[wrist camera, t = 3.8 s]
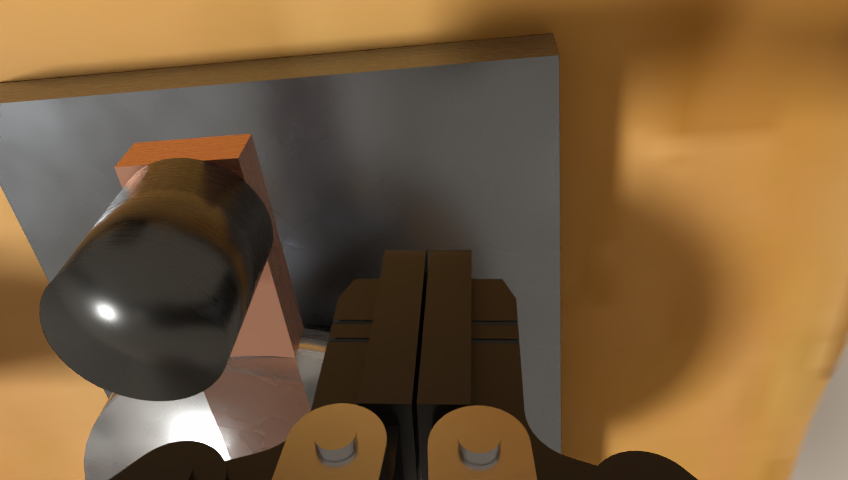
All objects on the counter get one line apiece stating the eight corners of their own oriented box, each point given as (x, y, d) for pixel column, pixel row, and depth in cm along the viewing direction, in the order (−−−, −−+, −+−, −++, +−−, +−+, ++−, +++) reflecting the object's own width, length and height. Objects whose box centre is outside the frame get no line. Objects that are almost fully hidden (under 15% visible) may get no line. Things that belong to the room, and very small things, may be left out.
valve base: (-8, 83, 20) (-134, 175, 16) (552, 33, 18) (577, 120, 14) (201, 526, 31) (159, 647, 27) (557, 518, 29) (572, 646, 25)
